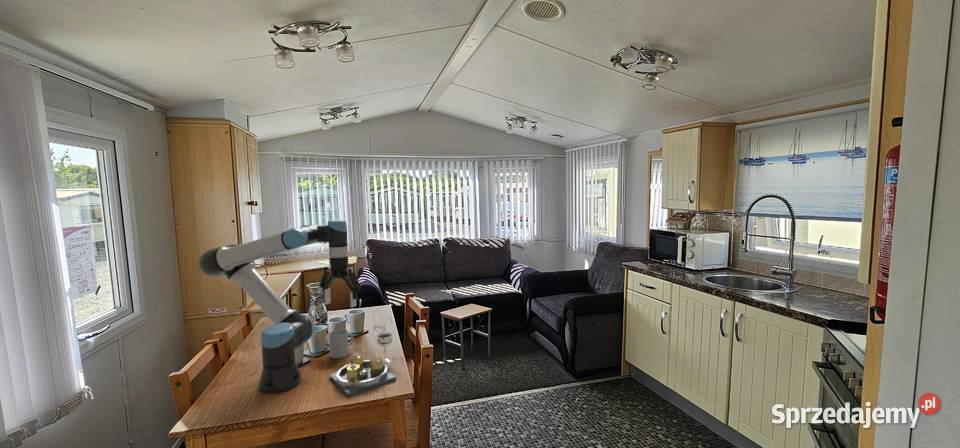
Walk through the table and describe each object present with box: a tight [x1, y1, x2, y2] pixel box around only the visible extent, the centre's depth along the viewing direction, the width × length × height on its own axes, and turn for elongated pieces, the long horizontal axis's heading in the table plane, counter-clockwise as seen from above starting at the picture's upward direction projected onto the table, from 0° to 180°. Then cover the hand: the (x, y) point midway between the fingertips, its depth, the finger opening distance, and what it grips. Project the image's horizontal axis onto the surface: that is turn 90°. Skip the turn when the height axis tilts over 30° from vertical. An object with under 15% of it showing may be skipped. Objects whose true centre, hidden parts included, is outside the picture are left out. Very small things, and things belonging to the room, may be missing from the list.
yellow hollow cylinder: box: [347, 364, 360, 382], centre depth 152 cm, size 5×5×6 cm
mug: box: [328, 328, 354, 360], centre depth 183 cm, size 12×8×11 cm
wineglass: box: [376, 332, 393, 364], centre depth 175 cm, size 7×7×12 cm
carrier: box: [329, 353, 397, 397], centre depth 157 cm, size 20×20×8 cm
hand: (340, 305), depth 164 cm, fingers open, 13 cm apart
